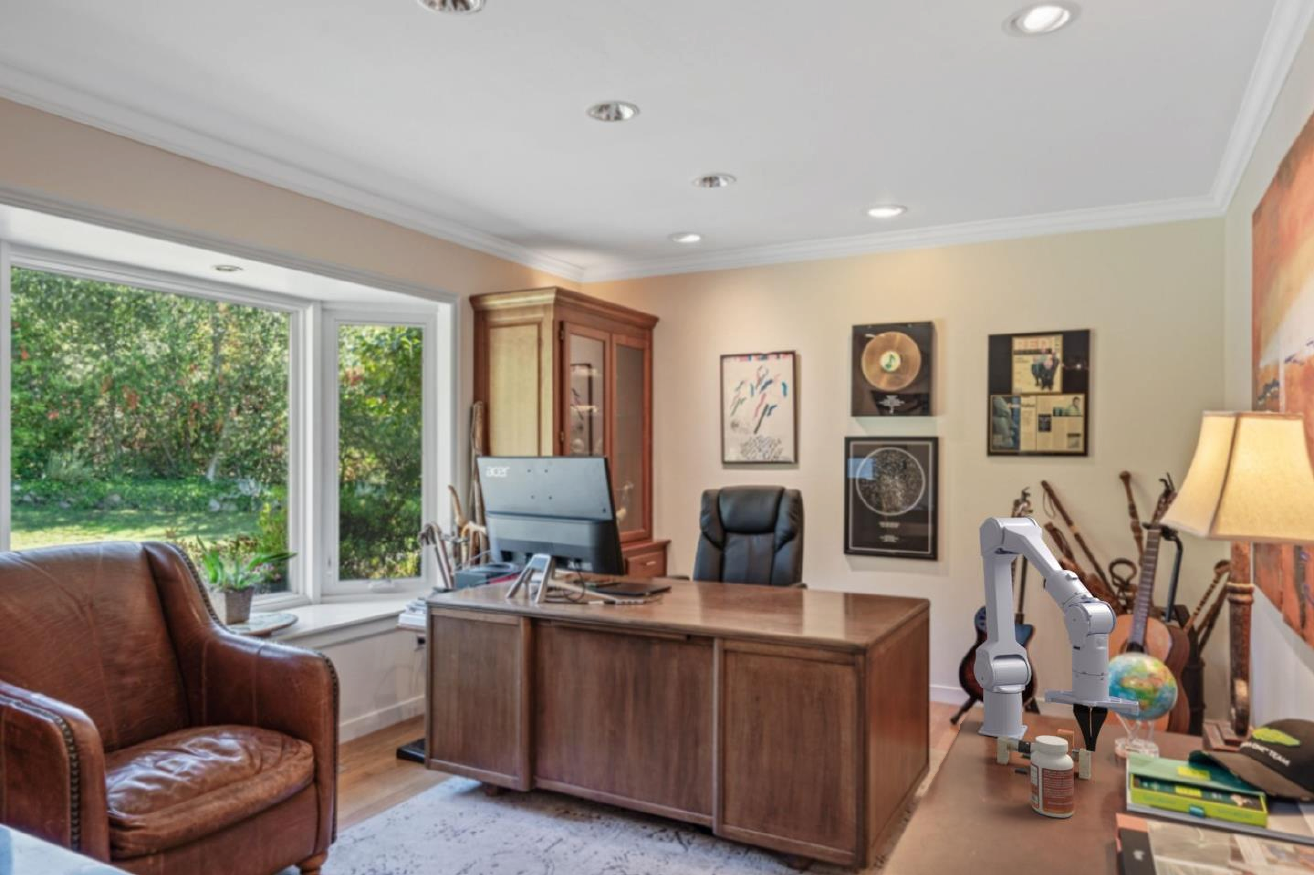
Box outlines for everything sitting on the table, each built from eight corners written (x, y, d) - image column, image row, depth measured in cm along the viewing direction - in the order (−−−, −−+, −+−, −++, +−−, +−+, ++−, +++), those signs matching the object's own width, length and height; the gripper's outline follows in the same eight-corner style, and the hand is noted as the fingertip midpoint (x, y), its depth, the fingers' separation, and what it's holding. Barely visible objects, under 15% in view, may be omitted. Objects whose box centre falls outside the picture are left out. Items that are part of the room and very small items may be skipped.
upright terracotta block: (1055, 775, 145) (1054, 738, 145) (1058, 764, 150) (1058, 728, 150) (1070, 778, 144) (1070, 740, 144) (1074, 767, 149) (1073, 731, 149)
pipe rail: (994, 768, 149) (993, 744, 149) (1003, 752, 157) (1003, 729, 157) (1087, 786, 141) (1087, 760, 141) (1092, 768, 149) (1091, 744, 149)
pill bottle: (1082, 813, 130) (1081, 741, 130) (1060, 822, 126) (1059, 749, 127) (1045, 799, 135) (1044, 731, 135) (1022, 808, 132) (1022, 737, 132)
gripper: (1042, 670, 146) (1042, 748, 145) (1137, 682, 138) (1138, 764, 138) (1047, 662, 152) (1047, 736, 151) (1138, 673, 144) (1139, 751, 144)
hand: (1090, 749), depth 145 cm, fingers closed
